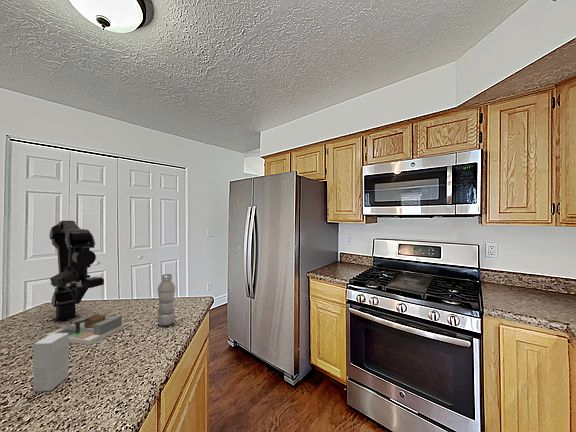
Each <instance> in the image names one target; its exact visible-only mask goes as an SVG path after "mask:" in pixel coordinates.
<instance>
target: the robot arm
mask: <svg viewBox="0 0 576 432" xmlns="http://www.w3.org/2000/svg"><path fill="white" fill-rule="evenodd" d="M49 240H51V245H52V246H54V247H55V249H57V250H56V251H57V266H58V273H57V274H56V275H53V276H52V277H50V278H49V279H50V285H52V287H54V292H53V293H52V297H51V306H52V307H53V308H55V317H54V318H52V319H51V321H54V322H67V321H69V320H72V319H75V318H77V317H79V314H76V311H77V310H76V309H77V307H76V305H79V304H81V301H82V299H83V298H84V296H85V294H86V293H87V291H88V290H89V289H93V288H96V287H100V286H103V285H105V278H103V277H99V276H93V277H91V275H90V274H88V269H89V268H91V265H93V264H95V261H96V259H97V256H96V254H95V252H94V251H92V250H91V249H94V248H95V245H96V241H95V238H94V236H93V234H92V232H91V231H90V230H88V229H85V228H84V229H83V228H80V227H79V226H78V225H77V224H76V221H75V220H60V221H58V224H55V225H54V226H52V227H51V229H50V231H49Z"/></svg>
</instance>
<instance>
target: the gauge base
mask: <svg viewBox="0 0 576 432" xmlns="http://www.w3.org/2000/svg"><path fill="white" fill-rule="evenodd" d="M84 319H85V318H82V317H81V318H79V319H78V322H79V321H82V320H84ZM122 322H123V316H122V315H113V316H110V317H108V318H106V320H103V321H101V322H98V323H96V324H94V325H93V328H86V327H84V322H82V323H80V333H78V334H76V325H74V323H71V324H69V325H68V324H62V325H61V328H59V329H56V330H54V331H51V332H48V333H46V334H45V337H47V336H49V335H50V334H52V333H69V343H73V344H74V343H75V344H81V345H87V346H90V345H92V344H95V343H96V342H98V341H101V340H102V339H104V338H107V337H109V336H110V335H113V334H114V333H115V334H116V333H117V332H119V331H121V330H123V329H124V328H125V324H123V323H122Z"/></svg>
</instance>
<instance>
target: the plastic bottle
mask: <svg viewBox="0 0 576 432" xmlns="http://www.w3.org/2000/svg"><path fill="white" fill-rule="evenodd" d="M172 280H173V274H169V273H168V274H167V273H166V274H165V273H164V274H162V275H161V282H160V283H159V285H158V287H157V297H158V312H157V317H156V319H157V324H158V325H159V327H167V326H170V325H173V324H174V322H175V321H176V320H175V319H176V313H175V306H174V301H175V293H176V285H175V283H174V282H173V281H172Z"/></svg>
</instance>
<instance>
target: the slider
mask: <svg viewBox="0 0 576 432" xmlns="http://www.w3.org/2000/svg"><path fill="white" fill-rule="evenodd" d="M83 319H84V320H82V321H79V320H78V321H77V322H75V323H73V324H74V325H76V334H78V333H80V323H82V322H84V327H86V328H93V325H94V324H96V323H98V322H101V321H103V320H106V319H107V316H106V314H99V313H97V314H94V315H91V316H89V317H86V318H83Z"/></svg>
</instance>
